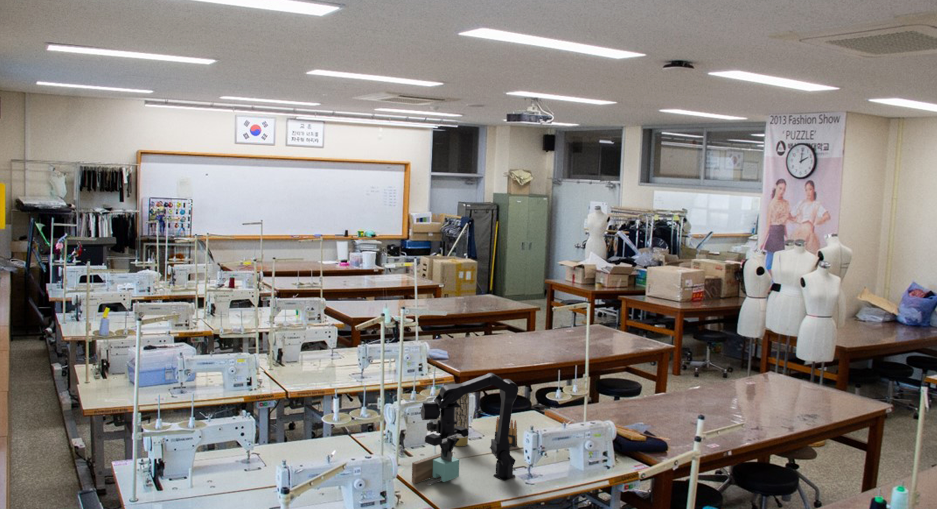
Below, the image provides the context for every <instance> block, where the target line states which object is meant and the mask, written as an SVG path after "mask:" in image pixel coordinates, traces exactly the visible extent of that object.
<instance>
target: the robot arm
mask: <svg viewBox="0 0 937 509" xmlns="http://www.w3.org/2000/svg"><path fill="white" fill-rule="evenodd" d="M491 386H494V387H496V388H497V389H499V396H500V410H499V416H498V417H499V424H498V431H497V436H496V438H495V437H494V439H493V438H491V441H490V443H491V444H490V447H489V449H490V450H491V454H492V455H493V456H494V457H495V459H496V464H495V473H494V474H493V477H495V478H498V479H500V480H503V481H507V480H511V479H513V478H515V477H516V475H515V474H513V473H514V466H515V463H516V459H515V458H514V457H513V456H512V454H511V448H510V447H511V446H510V445H509V440H508V435H509V428H510V423H511V420H512V419H511V418H512V410H513V405H514V402H515V401H516V399H517V397H518V393H519V386H518V385H517V384H516V383H515V382H513V380H511V379H510V378H502V377H500V376H498V375H496V374H495V373H494V372H488V373H487V374H484V375H480V376H478V377H476V378H472V379H470V380H467V381H464V382H462V383H450V384H445V385H442V386H441V387H440V389H439V392H438V394H437V395H436V397H435V398H434V400H433V401H429V402H427V401H423V402H422V405H421V408H420V417H421V420H422V421H429V422H427V423H426V431H428V432H430V434H427V435H425V437H424V443H425V444H427V445H431V446H433V447H434V446H435V447H437V446H439V447H440V451H441V450H442V453H443V456H444V457H446V456H447V453H448V451H450V452H453V449H454V448H455V445H456V443H457V441H459V439H458V438H457V435H458V434H461V435H462V437H466V436H468V437H469V428H468V429H467V428H464V427H461V426H457V427H455V424H457V421H455V408H457V407H460V405H459V404H458V403H457V400H459V399H460V398H461V397H462V396H463V395H465V394H468V393H469V394H470V393H473V392H476V391H479V390H482V389H484V388H486V387H491ZM434 420H437V422H433V421H434ZM434 432H436V433H434ZM438 434H439V435H438Z"/></svg>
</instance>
